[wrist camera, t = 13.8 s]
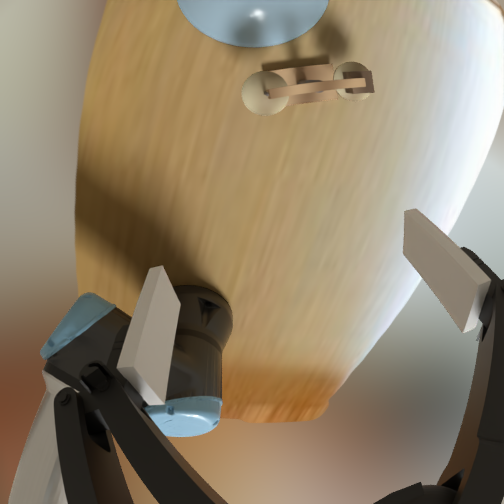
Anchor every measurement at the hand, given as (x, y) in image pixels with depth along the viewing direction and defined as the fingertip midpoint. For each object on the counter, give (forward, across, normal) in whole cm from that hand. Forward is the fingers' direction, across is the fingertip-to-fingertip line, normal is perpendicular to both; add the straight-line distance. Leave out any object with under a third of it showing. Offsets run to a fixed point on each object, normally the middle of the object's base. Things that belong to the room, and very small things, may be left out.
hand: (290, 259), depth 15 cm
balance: (+28, +8, +7) cm, 30 cm away
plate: (+28, +5, +23) cm, 37 cm away
